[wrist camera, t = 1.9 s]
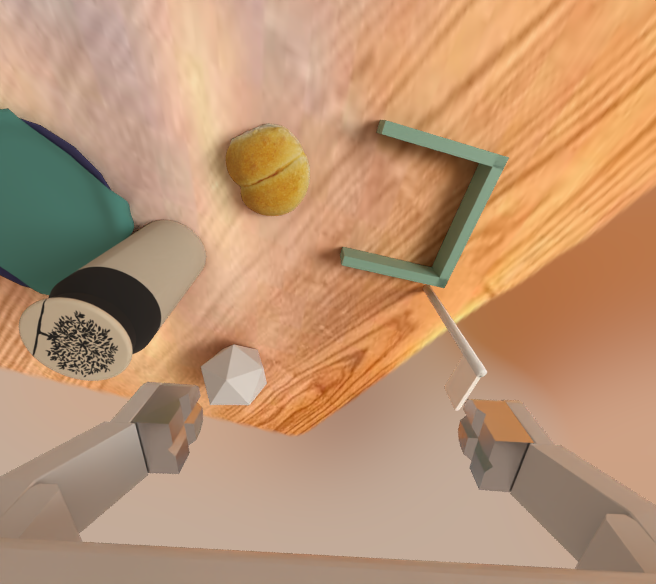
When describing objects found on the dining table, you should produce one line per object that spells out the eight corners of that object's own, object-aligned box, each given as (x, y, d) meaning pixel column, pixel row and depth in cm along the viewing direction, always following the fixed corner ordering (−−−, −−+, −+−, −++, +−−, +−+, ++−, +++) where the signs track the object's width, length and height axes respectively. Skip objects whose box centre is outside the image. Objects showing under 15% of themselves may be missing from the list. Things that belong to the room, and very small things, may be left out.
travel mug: (218, 246, 38) (151, 336, 23) (188, 290, 41) (109, 398, 26) (156, 204, 36) (31, 275, 20) (128, 255, 39) (-1, 352, 23)
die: (230, 320, 45) (176, 374, 39) (279, 349, 42) (229, 411, 37) (239, 349, 51) (194, 399, 45) (282, 376, 48) (240, 432, 43)
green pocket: (380, 119, 32) (428, 123, 18) (494, 154, 34) (616, 181, 20) (326, 300, 43) (331, 390, 29) (416, 318, 45) (462, 411, 31)
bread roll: (257, 222, 37) (251, 232, 34) (218, 144, 33) (206, 147, 30) (322, 196, 36) (322, 205, 33) (290, 112, 32) (287, 111, 28)
